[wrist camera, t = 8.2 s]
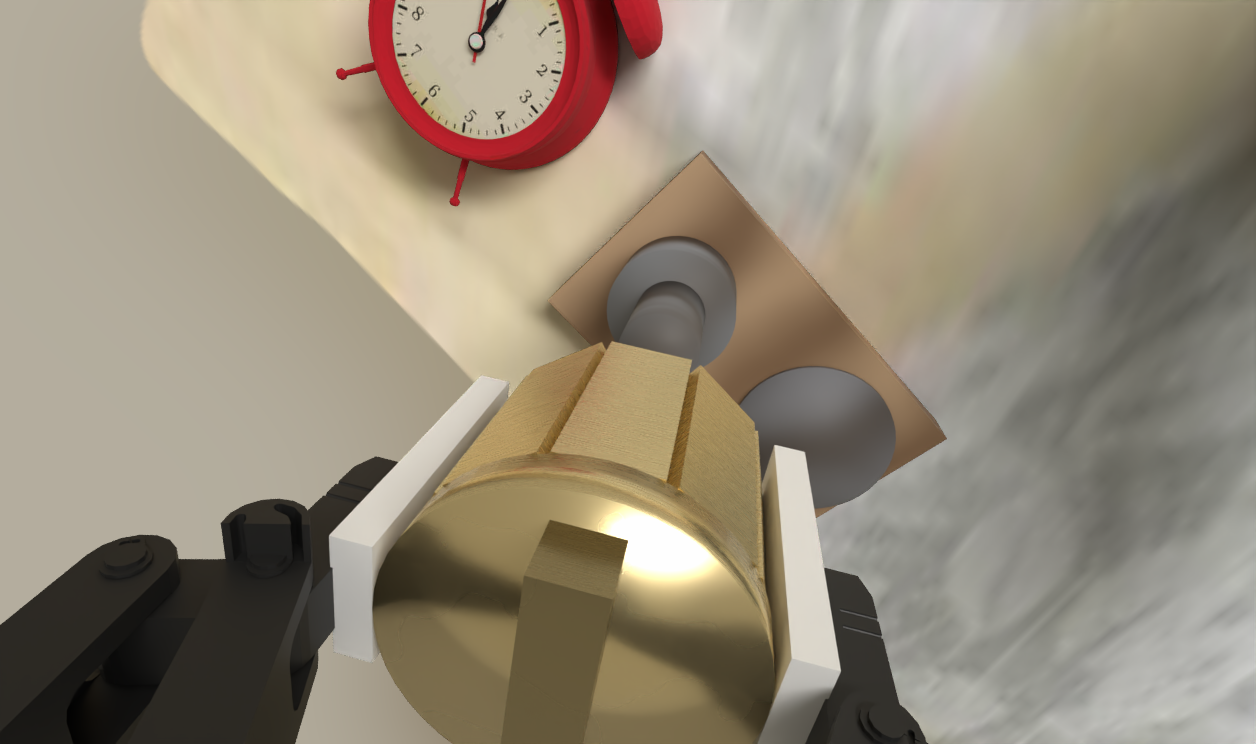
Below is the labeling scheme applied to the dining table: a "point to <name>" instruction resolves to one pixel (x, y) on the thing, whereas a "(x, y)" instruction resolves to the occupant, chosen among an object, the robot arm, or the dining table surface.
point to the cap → (590, 566)
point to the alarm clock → (503, 71)
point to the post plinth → (751, 332)
